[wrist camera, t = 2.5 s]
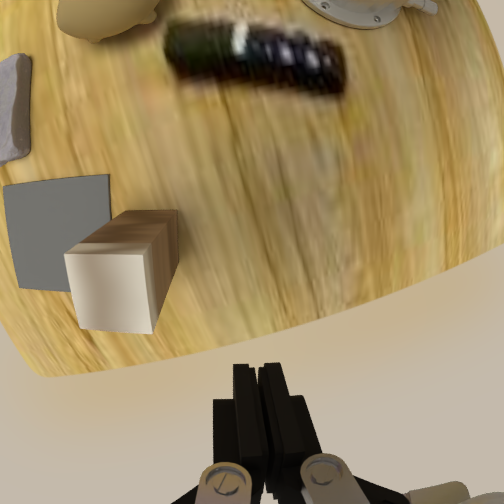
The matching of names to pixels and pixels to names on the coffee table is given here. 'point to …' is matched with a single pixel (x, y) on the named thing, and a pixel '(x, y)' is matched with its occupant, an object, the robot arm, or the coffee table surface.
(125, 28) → the tan rounded figure
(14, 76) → the stone block
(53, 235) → the rubber mat
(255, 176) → the coffee table surface
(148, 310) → the walnut block
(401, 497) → the robot arm
